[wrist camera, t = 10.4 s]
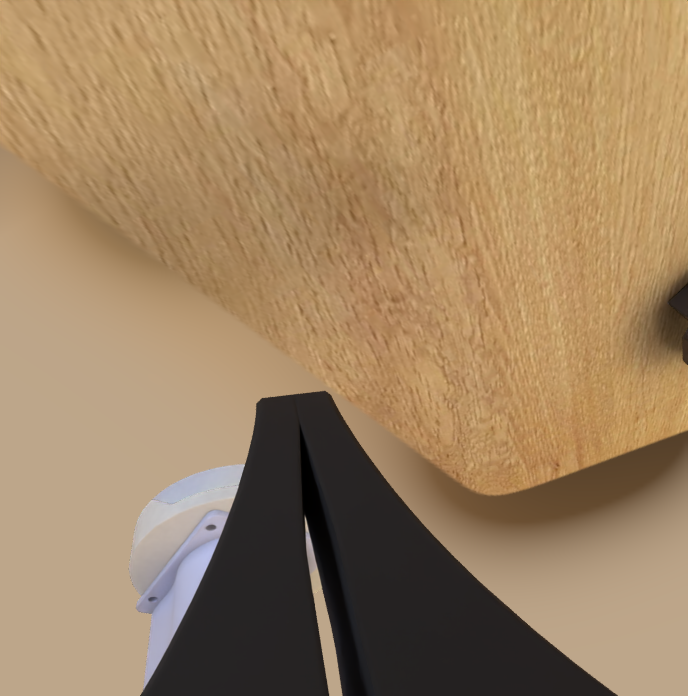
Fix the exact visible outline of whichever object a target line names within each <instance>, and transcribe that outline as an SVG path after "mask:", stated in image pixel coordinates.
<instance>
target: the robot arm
mask: <svg viewBox="0 0 688 696" xmlns="http://www.w3.org/2000/svg"><path fill="white" fill-rule="evenodd" d="M305 517H306V522H307V526H308V530H309V533H308V532H306V529H305ZM316 568H318V573H319V577H320V581H321V585H322V590H323V594H324V598H325V602H326V606H327V611H328V615H329V619H330V623H331V628H332V633H333V638H334V643H335V648H336V654H337V661H338V668H339V674H340V681H341V688H342V694H343V696H617V695H616V694H615V693H613V692H612V691H611V690H609V689H608V688H607V687H605V686H604V685H603V684H601V683H600V682H599V681H597V680H596V679H595V678H593V677H592V676H591V675H590V674H588V673H587V672H586V671H584V670H583V669H582V668H581V667H579V666H578V665H577V664H575V663H574V662H573V661H572V660H570V659H569V658H568V657H567V656H566V655H564V654H563V653H562V652H561V651H559V650H558V649H557V648H556V647H554V646H553V645H552V644H550V643H549V642H548V641H547V640H546V639H545V638H543V637H542V636H541V635H540V634H538V633H537V632H536V631H535V630H533V629H532V628H531V627H530V626H529V625H528V624H527V623H526V622H525V621H523V620H522V619H521V618H520V617H519V616H517V614H515V613H514V612H513V611H512V610H511V609H510V608H509V607H508V606H506V605H505V604H504V603H503V602H502V601H501V600H499V599H498V598H497V597H496V596H495V595H494V594H493V593H492V592H490V591H489V590H488V589H487V588H486V587H485V586H484V585H483V584H482V583H480V582H479V581H478V580H477V579H476V578H475V577H474V576H473V575H472V574H471V573H470V572H469V571H468V570H467V569H466V568H465V567H464V566H463V565H462V564H461V563H460V562H459V561H458V560H457V559H456V558H454V556H453V555H451V553H450V552H449V551H448V550H447V549H446V548H445V547H444V546H443V545H442V544H441V543H440V542H439V541H438V540H437V539H436V538H435V537H434V536H433V535H432V533H431V532H430V531H429V530H428V529H427V528H426V527H425V526H424V525H423V524H422V523H421V521H420V520H419V519H418V518H417V517H416V516H415V515H414V513H413V512H412V511H411V510H410V509H409V508H408V506H407V505H406V504H405V503H404V501H403V500H402V499H401V498H400V497H399V496H398V494H397V493H396V492H395V491H394V489H393V488H392V487H391V486H390V484H389V483H388V482H387V481H386V479H385V478H384V477H383V475H382V474H381V473H380V471H379V470H378V469H377V467H376V466H375V465H374V463H373V462H372V461H371V459H370V458H369V456H368V455H367V454H366V452H365V451H364V449H363V448H362V447H361V445H360V444H359V442H358V441H357V439H356V438H355V436H354V435H353V433H352V431H351V430H350V428H349V427H348V425H347V424H346V422H345V420H344V419H343V417H342V415H341V414H340V412H339V410H338V408H337V406H336V404H335V402H334V400H333V398H332V396H331V395H330V394H328V392H326V391H320V392H312V393H303V394H294V395H286V396H277V397H268V398H262V399H261V400H260V401H259V402H258V403H257V404H256V418H255V425H254V431H253V436H252V440H251V445H250V449H249V453H248V457H247V460H246V463H245V467H244V470H243V473H242V477H241V480H240V483H239V487H238V490H237V493H236V496H235V499H234V501H233V504H232V507H231V509H230V512H225V511H221V510H212V511H210V512H208V513H207V514H206V515H205V517H204V518H203V519H202V520H201V522H200V523H199V524H198V525H197V527H196V528H195V529H194V531H193V532H192V533H191V534H190V536H189V537H188V538H187V539H186V541H185V542H184V543H183V544H182V546H181V547H180V548H179V550H178V551H177V552H176V553H175V555H174V556H173V557H172V558H171V560H170V561H169V562H168V563H167V565H166V566H165V567H164V568H163V570H162V571H161V572H160V574H159V575H158V576H157V577H156V579H155V580H154V581H153V582H152V584H151V585H150V586H149V587H148V589H147V590H146V591H145V592H144V594H143V595H142V596H141V598H140V599H139V600H138V601H137V606H136V609H137V610H138V611H139V612H143V613H149V614H152V618H151V627H150V636H149V644H148V645H149V646H148V654H147V662H146V671H145V680H144V688H143V692H142V694H141V695H140V696H329V692H328V685H327V679H326V673H325V667H324V660H323V655H322V649H321V642H320V635H319V629H318V623H317V616H316V610H315V603H314V597H313V591H312V584H311V578H310V574H311V573H312V572H313V571H314V570H315V569H316Z"/></svg>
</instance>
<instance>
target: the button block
mask: <svg viewBox="0 0 688 696" xmlns="http://www.w3.org/2000/svg"><path fill="white" fill-rule="evenodd" d="M668 304H669V305H670V306H671V307H673V308H674V309H675V310H676V311H677V312H679V313H680V314H681V315H682V316H683V317H685V318H686V319H687V320H688V284H687V285H686V286H685V287H684V288H683V289H682V290H681V291H680V292H679V293H678V294H676V295H675V296H674V297H673V298H672V299H671V300H670V301H669V302H668ZM682 344H683V361H684V362H685V363H686V364H687V365H688V328H687V330H686V332H685V333H684V335H683V337H682Z"/></svg>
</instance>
